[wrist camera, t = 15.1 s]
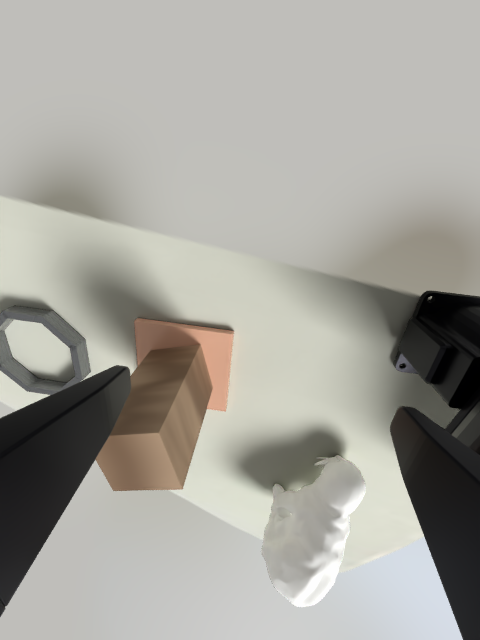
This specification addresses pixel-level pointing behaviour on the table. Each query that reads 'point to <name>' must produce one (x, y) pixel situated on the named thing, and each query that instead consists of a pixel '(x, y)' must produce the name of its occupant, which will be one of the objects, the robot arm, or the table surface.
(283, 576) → the white lumpy piece
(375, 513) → the table surface
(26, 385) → the metal ring
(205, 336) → the terracotta mat
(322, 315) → the table surface
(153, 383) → the walnut block
